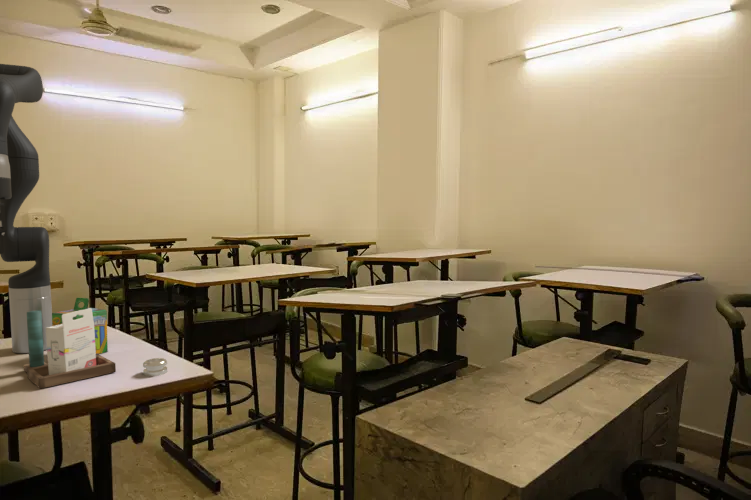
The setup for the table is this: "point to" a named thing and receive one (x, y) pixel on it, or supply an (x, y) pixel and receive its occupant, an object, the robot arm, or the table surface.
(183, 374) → the table surface
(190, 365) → the table surface
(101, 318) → the chalk box
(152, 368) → the metal grooved wheel
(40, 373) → the wooden display tray
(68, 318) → the ink cartridge box
